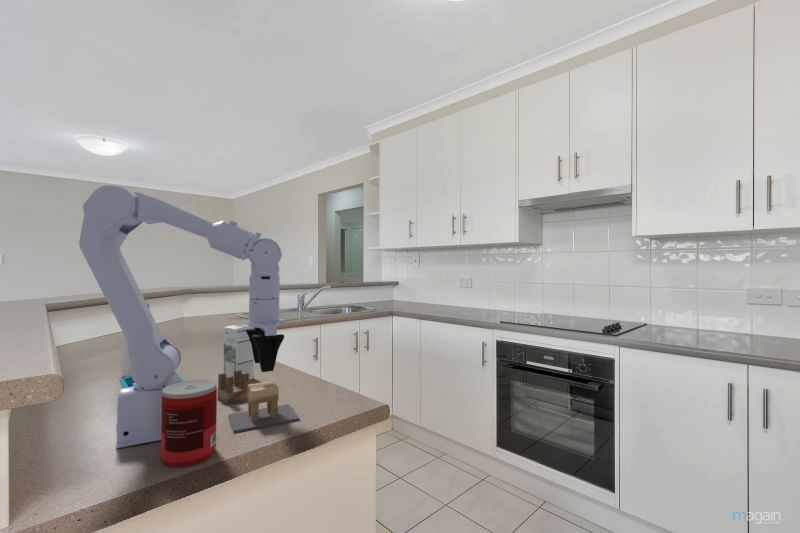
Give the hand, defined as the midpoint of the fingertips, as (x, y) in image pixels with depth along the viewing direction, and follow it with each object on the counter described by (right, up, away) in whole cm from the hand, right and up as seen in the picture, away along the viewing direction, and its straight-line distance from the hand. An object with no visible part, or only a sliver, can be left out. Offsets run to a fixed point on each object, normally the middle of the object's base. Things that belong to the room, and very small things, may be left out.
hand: (263, 366), depth 75 cm
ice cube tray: (-31, -11, +14) cm, 36 cm away
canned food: (-6, -10, -15) cm, 19 cm away
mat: (0, -10, 0) cm, 10 cm away
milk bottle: (-46, -11, +31) cm, 57 cm away
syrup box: (-16, -11, +26) cm, 33 cm away
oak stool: (0, -10, 0) cm, 10 cm away
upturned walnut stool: (-11, -11, +11) cm, 19 cm away
